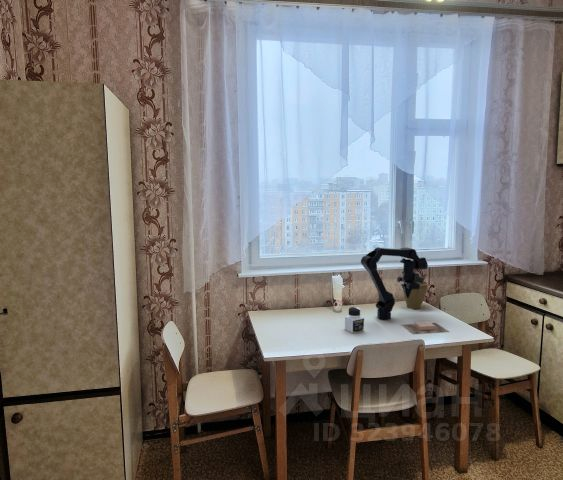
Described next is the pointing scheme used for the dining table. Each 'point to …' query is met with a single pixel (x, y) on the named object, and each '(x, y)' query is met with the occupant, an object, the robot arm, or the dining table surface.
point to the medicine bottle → (354, 321)
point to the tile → (424, 325)
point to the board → (414, 330)
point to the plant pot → (416, 296)
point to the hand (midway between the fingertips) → (407, 297)
